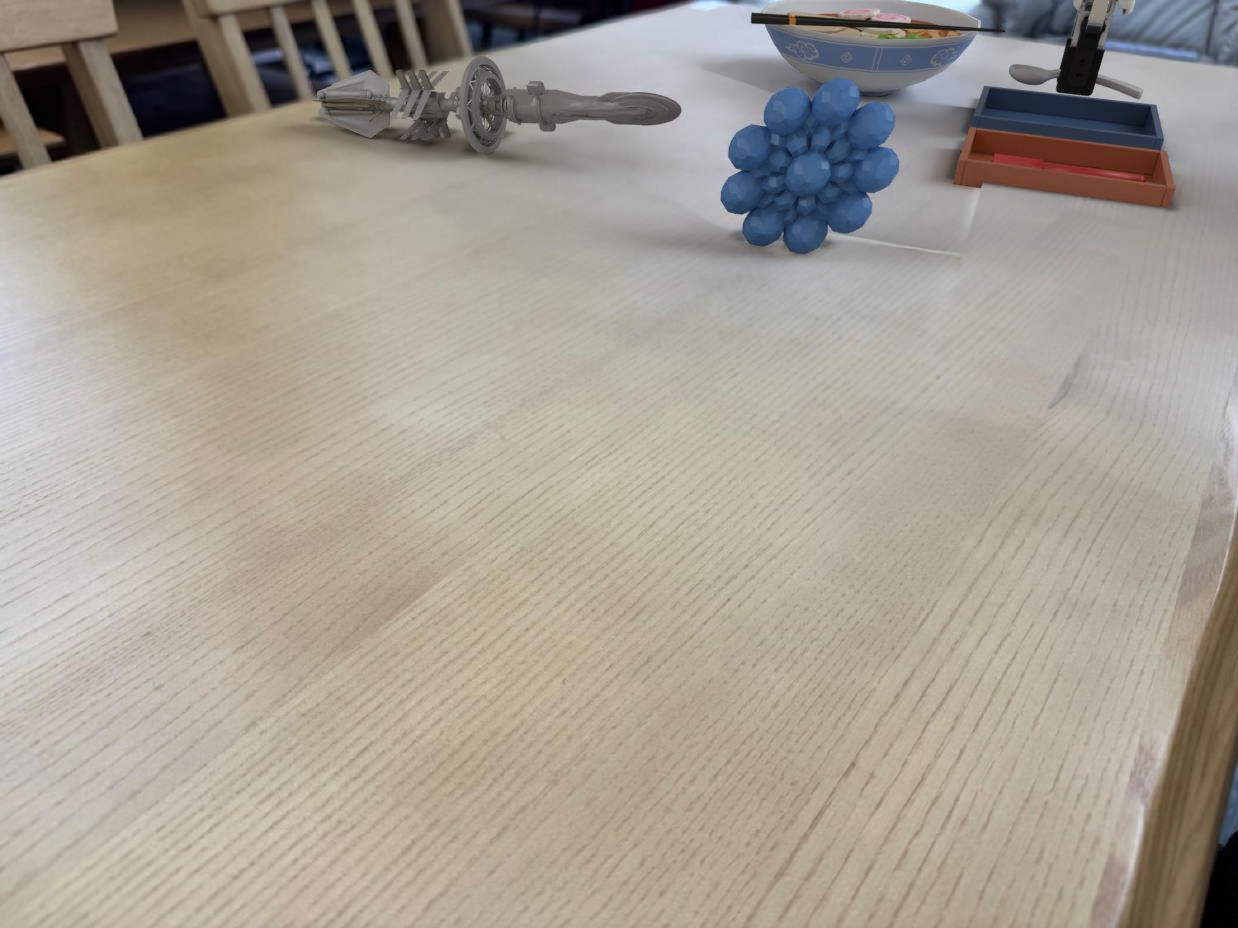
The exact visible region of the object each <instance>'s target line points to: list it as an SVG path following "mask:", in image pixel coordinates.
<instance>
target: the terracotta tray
mask: <svg viewBox="0 0 1238 928" xmlns="http://www.w3.org/2000/svg"><path fill="white" fill-rule="evenodd" d="M994 154H1002V155H1010V156H1017V157H1025V158H1033V159H1041V160H1043V162H1046V163H1054V164H1062V165H1069V166H1077V167H1085V168H1092V169H1100V170H1108V171H1115V172H1123V173H1131V174H1138V175H1142V176H1144V177H1145V180H1146V183H1145V182H1138V181H1130V180H1123V179H1115V178H1108V177H1100V176H1093V175H1085V174H1077V173H1070V172H1062V171H1055V170H1047V169H1040V168H1032V167H1025V166H1017V165H1009V164H1002V163H994V162H993V158H994ZM984 183H986V184H987V183H988V184H995V185H1002V186H1009V187H1018V188H1024V189H1031V190H1039V191H1044V192H1045V191H1046V192H1052V193H1060V194H1068V195H1075V196H1082V197H1089V198H1096V199H1104V200H1109V201H1118V202H1124V203H1132V204H1133V203H1134V204H1138V205H1145V206H1154V207H1161V208H1170V205H1171V202H1172V200H1173V197H1174V194H1175V191H1176V186H1175V182H1174V178H1173V174H1172V169H1171V164H1170V159H1169V155H1168V151H1166V150H1160V151H1159V150H1152V149H1144V148H1136V147H1128V146H1120V145H1112V144H1104V143H1095V142H1087V141H1079V140H1071V139H1063V138H1055V137H1047V136H1039V135H1031V134H1023V133H1015V132H1006V131H998V130H990V129H982V128H974V127H971V126H970V127H969V128H968V131H967V135H966V137H965V140H964V143H963V146H962V149H961V152H960V155H959V158H958V161H957V165H956V170H955V174H954V179H953V183H952V184H953V185H955V186H961V187H969V188H970V187H971V188H976V189H982V188H983V184H984Z"/></svg>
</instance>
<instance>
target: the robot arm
mask: <svg viewBox="0 0 1238 928" xmlns="http://www.w3.org/2000/svg"><path fill="white" fill-rule="evenodd" d="M1117 4H1118V9H1119V10H1122V15H1123V16H1128V15H1130V14H1131V13H1133V11H1134V8H1135V5H1136V0H1073V7H1074V9H1076V10H1077V11H1076V15H1075V20H1074V22H1073V25H1072V29H1071V34H1070V37H1067V39H1066V43H1065V46H1064V50H1063V54H1062V58H1061V62H1060V66H1059V69H1061V70H1060V74H1059V78H1056V86H1055V91H1056V93H1057V94H1064V95H1073V96H1082V97H1091V96H1092V95H1093V93H1094V90H1095V86H1096V84H1095V83H1096V80H1097V76H1098V74H1099V72H1100V69H1101V66H1102V62H1103V59H1104V55H1105V52H1106V49H1105V44H1106V40H1107V37H1108V33H1109V30H1110V26H1111V22H1112V19H1113V17H1114V12H1115V8H1116V5H1117Z"/></svg>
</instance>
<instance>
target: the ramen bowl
mask: <svg viewBox="0 0 1238 928" xmlns="http://www.w3.org/2000/svg"><path fill="white" fill-rule="evenodd" d="M750 24H751V25H764V26H765V29H766V31H767V33H768V35H769V37H770V40H771V41H772V43H773V45H774V47H775V48H776V50H777V51H778V52H779V54H780V56H781V57H782V58H783V59H784V60H785V61H786V62H787V63H788V64H789V65H790V66H792V67H793V68H794V69H795V70H796V71H797V72H798V73H799V74H802V75H804V76H805V77H808V78H810V79H811V80H813V81H816V82H819V83H820V84H822V85H824V84H825V83H827V82H829V81H831V80H833V79H835V78H844V79H849V80H853V82H854V83H855V84H856V86H857V87H858V90H859V92H860V96H868V97H881V96H887V95H889V94H892V93H894V92H895V91H897V90H901V89H905V88H908V87H911V86H914V85H918V84H920V83H923V82H925V81H927V80H930V79H932V78H934V77H936V76H938V75H939V74H941V73H943V72H944V71H946V70H947V69H948V68H949V67H950V66H951V65H952V64H954V63H955V62H956V61H957V60H958V59H959V57H960V56H961V55H962V54H963V53H964V52H965V51H966V50H967V49H968V47H969V46H970V45H971V44H972V42H973V41H974V40H975V38H976V37H977V36H978V34H979V32H984V33H985V32H987V33H989V32H990V33H1006V30H1005V29H1003V28H990V27H989V28H988V27H982V25H981V24H982V21H981V20H980V19H978V18H976V17H974V16H972V15H970V14H968V13H966V12H963V11H960V10H956V9H952V8H948V7H945V6H941V5H937V4H932V3H931V4H930V3H925V2H918V1H917V2H916V1H911V0H780V1H776V2H771V3H768V4H766V6H765V7H763V8H762V9H761V10H760V12H752V11H751V14H750Z"/></svg>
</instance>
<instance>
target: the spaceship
mask: <svg viewBox="0 0 1238 928" xmlns="http://www.w3.org/2000/svg"><path fill="white" fill-rule="evenodd" d="M417 72H418V73H417V75H416V73H415V71H414V69H407V71H406V73H407V76H408V79H409V81H408V80H407V77H406V75H405V73H404V72H403V70H402V69H396V70H395V74H396V77H397V79H398V83H399V85H400V87H399V90H400V92H399V94H398V97H395V96H390V83H388V82H387V81H386V80H385V79H383V78H382V77H381V76H379V75H378V74H377V73H375V72H374V71H373V70H372V69H368V70H366V71H363V72H360V73H357V74H355V75H352V76H349V77H346V78H344V79H341V80H339V81H336V82H334V83H332V84H331V85H330V86H327V87H325V88H323V89H320V90H317V92H316V98H317V99H311V101H312V102H317V103H320V105H321V107H319V108H318V114H317V115H318V116H319V117H321V118H323V119H325V120H328V121H330V122H332V124H334V125H337V126H338V127H341V128H343V129H346V130H348V131H351V132H354V133H357V134H359V135H361V136H364V137H366V138H369V139H372V138H374V137H375V136H376V135H378V134H379V133H381V132H382V131H384V130H385V129H387V127H389V126H390V125H391V120H395V119H397V116H398V114H399V112H400V113H402V115H401V117H400V118H401V120H407V119H408V118H411V119H412V122H414V123H412V124H411V126H410V127H409V128H407V130H406V131H405V132H404V133H403V134H402V135H401V137H400V138H399V140H401V141H402V140H404V141H405V140H406V139H407V138H408V137H409V136H410V135H412V134H413V132H414V131H415V130H416V129H418V130H417V131H416V133H415V134H413V136H412V137H411V138H410V140H411V141H416V140H417V139H419V138H420V137H421V136H422V138H421V141H428V140H429V139H430V138H431V137H432V136H433V138H434V139H440V138H441V134H440V131H439V129H440V130H441V132H442V134H443V136H444V138H445V139H451V138H452V134H451V132H450V127H449V125H448V123H447V122H448V121H449V120H448V117H449V116H450V113H454V115H455V117H456V119H457V120H459V121H460V122H461V126H462V130H463V133H464V135H465V137H466V140H467V141H468V143H469V145H470V146H471V147H472V149H473V150H475V151H476V152H477V153H479V154H481V155H489V154H491V153H493V152H494V151H496V150H497V149H498V147H500V145H501V143H502V141H503V139H504V137H505V133H506V129H507V124H508V122H511V123H514V124H517V126H522V124H538V128H539V130H540V131H542V133H543V132H544V133H545V132H546V133H547V132H549V133H554V132H555V131H556V129H557V125H564V124H568V123H572V122H576V121H606V122H608V123H611V124H613V125H617V126H618V125H620V126H643V127H646V126H647V127H648V126H658V125H659V126H660V125H664V124H667V123H670V122H673V121H674V120H677V119H678V118H679V117H680V115H681V114H682V107H681V105H680V103H678V102H677V101H675V100H674V99H672V98H670V97H668V96H665V95H663V94H658V93H653V92H645V91H632V92H631V91H630V92H629V91H609V92H606V93H604V94H602V95H581V94H577V93H573V92H570V91H569V92H568V91H565V90H560V89H546V88H545V85H544V82H543V81H541V80H530V81H529V82H528V83H527V84H526V85H525V86H526V88H525V89H523V88H521V89H520V88H517V86H513V87H512V88H506V84H505V80H504V77H503V74H502V72H501V70H500V68H499V67H498V65H497V64H496V63H495V61H494V60H493V59H491V58H489V57H488V56H485V55H479V56H476V57H475V58H473V59H472V60H471V61H470V62H469V63H468V64H467V66H466V68H465V70H464V72H463V75H462V78H461V82H460V85H459V86H457V87H456V88H455V91H451V92H450V95H449V97H448V98H447V97H445V96H446V94H447V92H446V91H441V92H439V91H436V90H435V89H436V86H437V85H438V84H439V83H440V82H441V81H442V80H443V79H444V77H445V76H447V74H448V73H449V72H450V71H449V70H443V71H442V72H441V73H440V74H438V75H437V76H436V77H435V78H434V79H433V80H432V81H430V80H431V79H432V78H433V77H434V76H435V75H436V74H437V73H438V70H432V71H431V72H429V73H428V74H427V72H428V71H427V70H425V69H419V70H418V71H417ZM419 80H420V81H419ZM484 86H485V87H487V88H485V90H484ZM428 129H430V130H428Z"/></svg>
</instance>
